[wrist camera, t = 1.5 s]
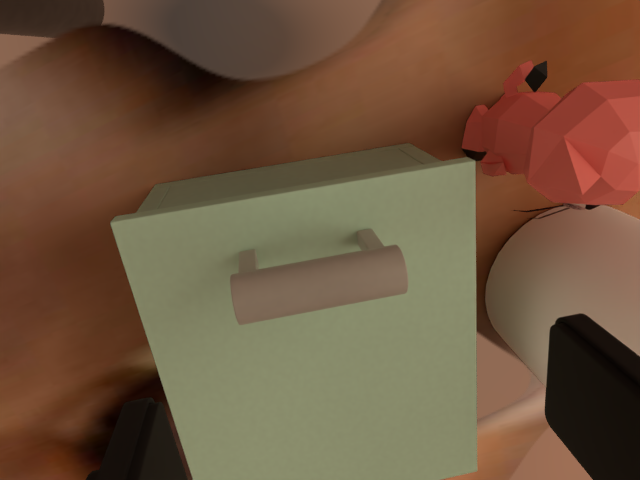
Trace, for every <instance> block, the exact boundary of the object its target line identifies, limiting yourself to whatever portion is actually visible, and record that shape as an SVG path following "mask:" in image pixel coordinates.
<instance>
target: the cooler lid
mask: <svg viewBox="0 0 640 480" xmlns="http://www.w3.org/2000/svg"><path fill="white" fill-rule="evenodd" d="M110 225H111V228H112V231H113V234H114V237H115V240H116V243H117V246H118V250H119V253H120V256H121V259H122V262H123V265H124V268H125V271H126V274H127V277H128V280H129V284H130V287H131V290H132V293H133V296H134V299H135V302H136V305H137V308H138V311H139V314H140V318H141V321H142V324H143V327H144V330H145V333H146V336H147V339H148V342H149V345H150V348H151V351H152V355H153V358H154V361H155V364H156V367H157V370H158V373H159V376H160V379H161V382H162V385H163V389H164V392H165V395H166V398H167V401H168V404H169V407H170V410H171V413H172V416H173V419H174V423H175V426H176V429H177V432H178V435H179V438H180V441H181V444H182V447H183V450H184V453H185V456H186V460H187V463H188V466H189V469H190V472H191V475H192V478H193V480H441V479H445V478H450V477H454V476H458V475H463V474H467V473H472V472H476V471H477V373H476V372H477V362H476V361H477V355H476V354H477V350H476V172H475V160H473V159H470V158H468V157H465V158H459V159H453V160H447V161H441V162H435V163H429V164H423V165H417V166H411V167H405V168H399V169H393V170H388V171H382V172H376V173H370V174H364V175H358V176H352V177H346V178H340V179H334V180H328V181H322V182H316V183H310V184H304V185H298V186H293V187H287V188H281V189H275V190H269V191H263V192H257V193H251V194H245V195H239V196H233V197H227V198H221V199H215V200H209V201H203V202H197V203H192V204H186V205H180V206H174V207H168V208H162V209H156V210H150V211H144V212H138V213H132V214H126V215H120V216H115V217H114V218H113V220H112V221H111V222H110Z"/></svg>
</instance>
